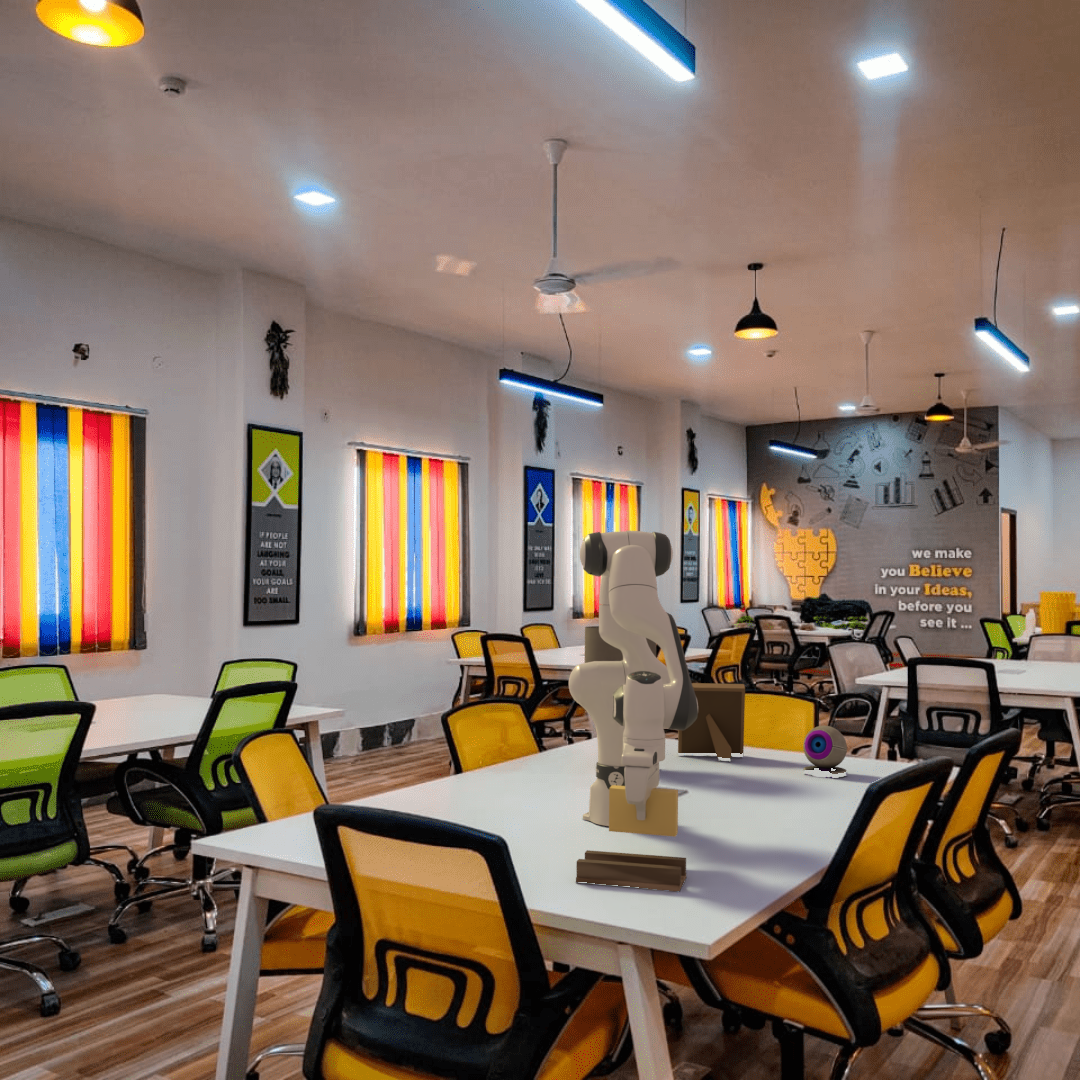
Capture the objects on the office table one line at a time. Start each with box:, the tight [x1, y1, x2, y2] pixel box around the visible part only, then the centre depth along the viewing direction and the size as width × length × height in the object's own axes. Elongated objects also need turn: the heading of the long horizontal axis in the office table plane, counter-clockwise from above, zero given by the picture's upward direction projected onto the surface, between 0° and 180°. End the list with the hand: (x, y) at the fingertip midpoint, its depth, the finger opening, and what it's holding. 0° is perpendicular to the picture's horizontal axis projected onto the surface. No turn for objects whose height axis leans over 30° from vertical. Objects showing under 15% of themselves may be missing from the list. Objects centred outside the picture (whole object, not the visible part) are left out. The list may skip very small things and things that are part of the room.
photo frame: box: [677, 682, 746, 759], centre depth 352 cm, size 15×22×25 cm
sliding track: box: [575, 849, 687, 892], centre depth 204 cm, size 10×20×4 cm, turn 75°
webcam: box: [803, 725, 848, 774], centre depth 323 cm, size 13×13×15 cm
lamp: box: [584, 625, 657, 663], centre depth 333 cm, size 23×23×44 cm
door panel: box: [608, 785, 679, 837], centre depth 218 cm, size 3×14×9 cm, turn 75°
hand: (643, 816), depth 218 cm, fingers closed on door panel, 3 cm apart
